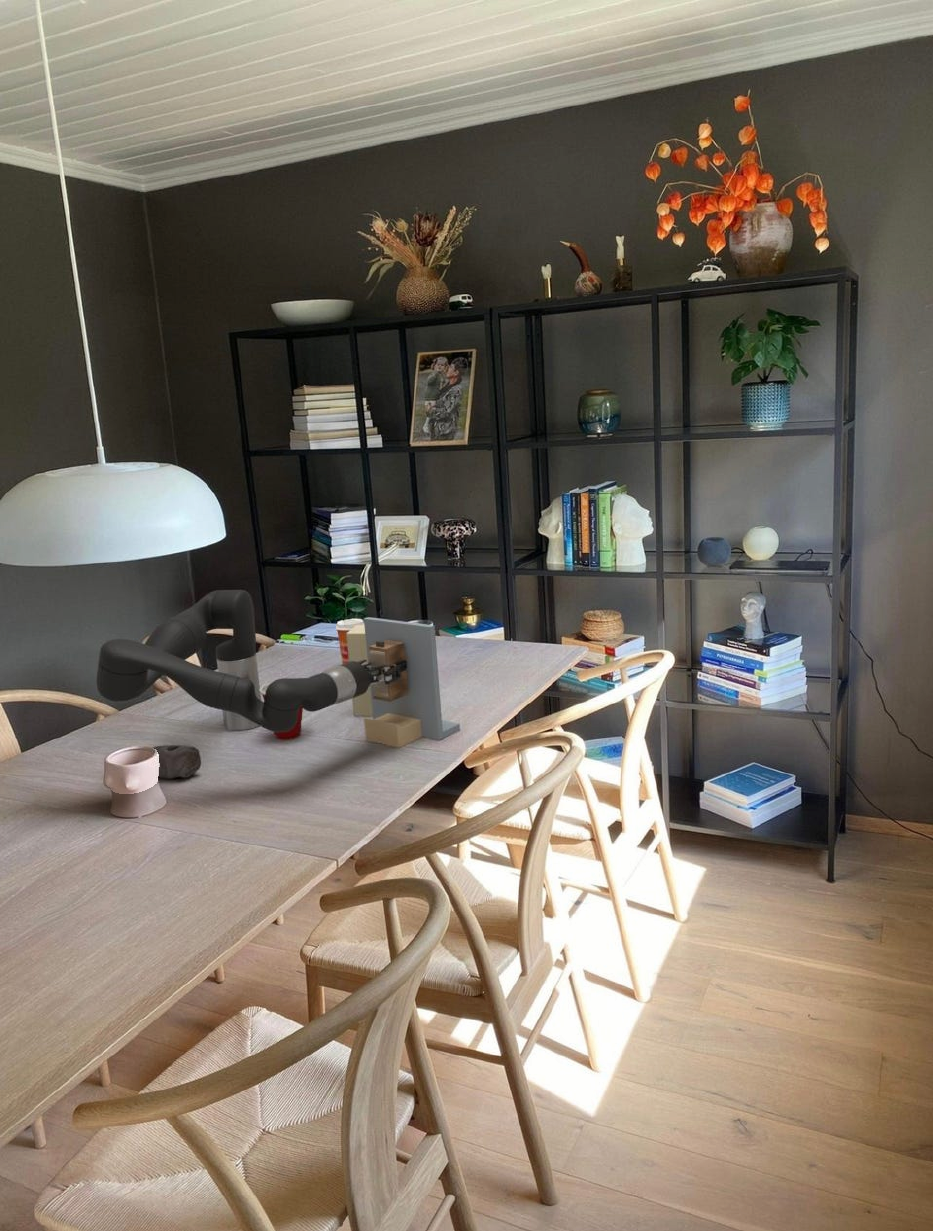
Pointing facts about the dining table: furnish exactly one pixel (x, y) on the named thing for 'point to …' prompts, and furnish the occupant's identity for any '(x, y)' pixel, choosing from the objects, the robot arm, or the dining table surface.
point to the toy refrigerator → (357, 653)
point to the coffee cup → (343, 629)
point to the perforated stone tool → (178, 761)
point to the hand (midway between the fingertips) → (396, 663)
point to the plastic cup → (293, 732)
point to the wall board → (422, 703)
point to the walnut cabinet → (388, 655)
